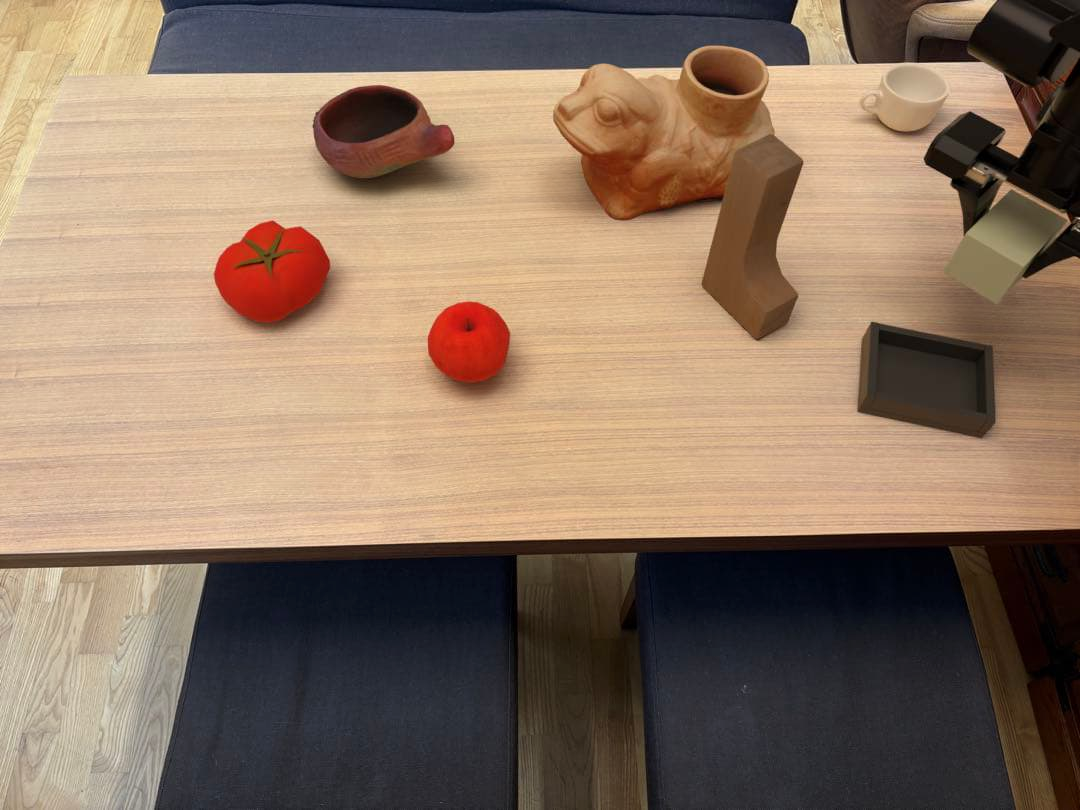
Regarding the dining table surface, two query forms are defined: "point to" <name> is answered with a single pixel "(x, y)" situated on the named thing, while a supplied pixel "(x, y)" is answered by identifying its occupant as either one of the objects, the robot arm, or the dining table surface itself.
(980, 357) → the mount
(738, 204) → the wooden block
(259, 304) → the tomato
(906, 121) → the teacup
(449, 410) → the dining table surface
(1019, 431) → the dining table surface
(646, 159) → the ceramic vessel
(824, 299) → the dining table surface
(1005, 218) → the olive green block
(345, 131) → the bowl
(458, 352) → the apple
